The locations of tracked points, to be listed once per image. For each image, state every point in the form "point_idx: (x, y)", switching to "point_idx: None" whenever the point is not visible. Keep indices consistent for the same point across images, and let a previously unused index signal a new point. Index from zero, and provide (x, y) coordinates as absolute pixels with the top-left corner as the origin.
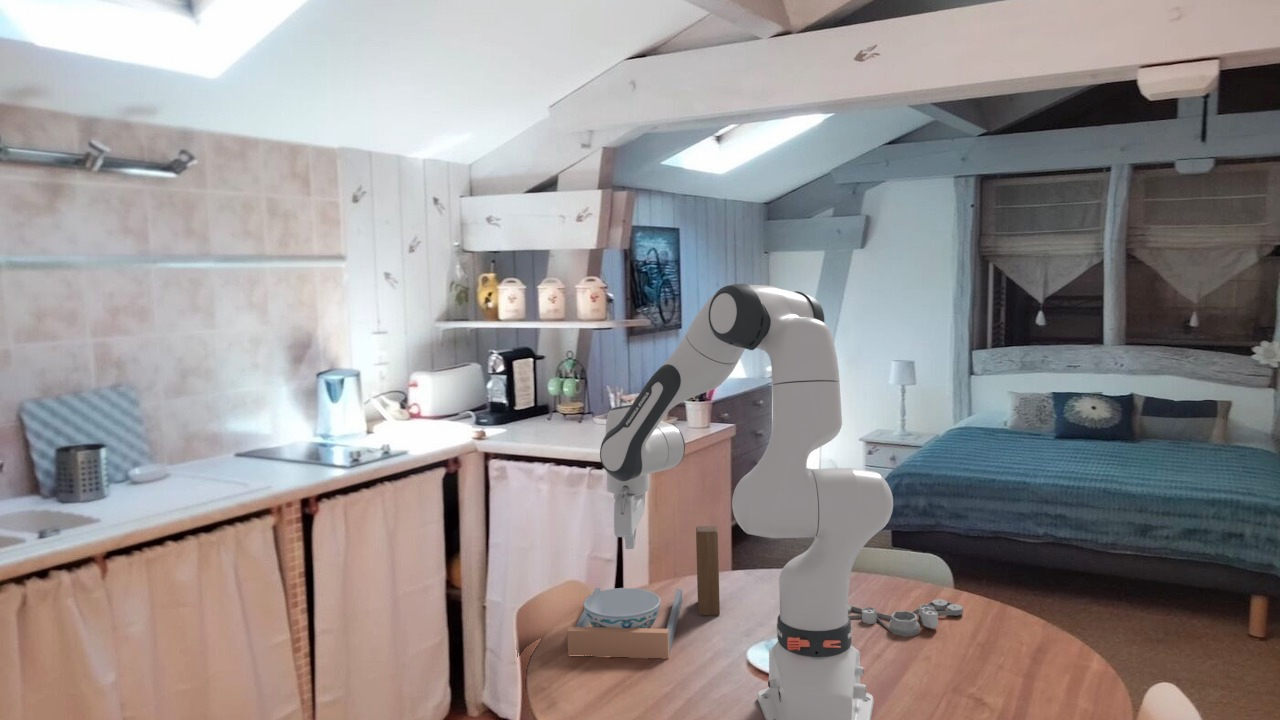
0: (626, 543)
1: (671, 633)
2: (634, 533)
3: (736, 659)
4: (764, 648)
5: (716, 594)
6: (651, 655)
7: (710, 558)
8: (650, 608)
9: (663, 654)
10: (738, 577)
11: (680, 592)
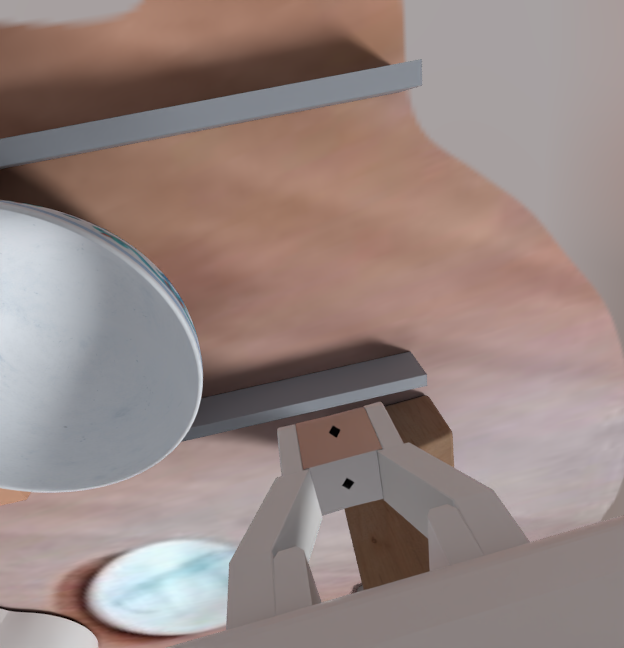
0: (281, 462)
1: None
2: (412, 519)
3: (118, 539)
4: (192, 556)
5: None
6: None
7: None
8: (171, 400)
9: None
10: (585, 422)
11: (398, 391)
